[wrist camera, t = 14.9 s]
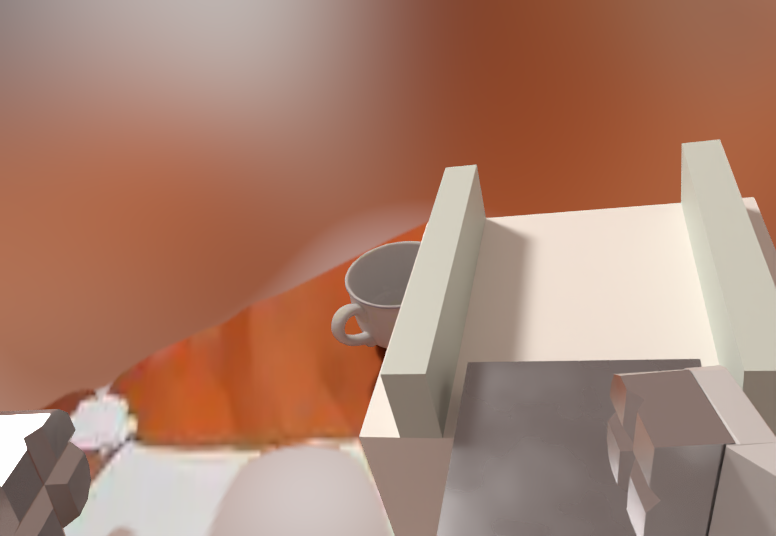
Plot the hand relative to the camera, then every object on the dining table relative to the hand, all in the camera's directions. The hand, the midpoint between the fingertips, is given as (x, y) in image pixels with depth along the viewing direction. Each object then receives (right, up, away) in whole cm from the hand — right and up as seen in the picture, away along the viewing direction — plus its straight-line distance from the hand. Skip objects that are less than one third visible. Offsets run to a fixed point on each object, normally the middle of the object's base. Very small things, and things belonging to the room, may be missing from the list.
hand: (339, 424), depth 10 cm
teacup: (+2, -5, +61) cm, 61 cm away
